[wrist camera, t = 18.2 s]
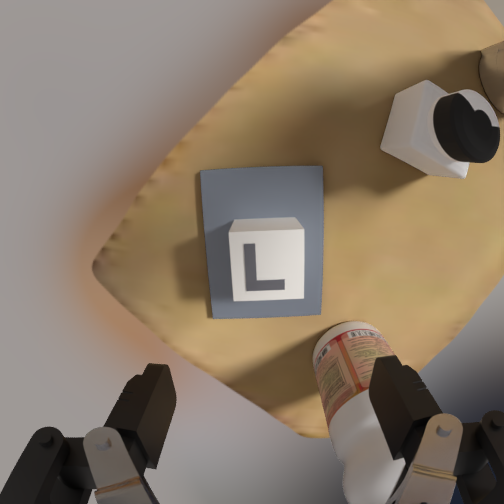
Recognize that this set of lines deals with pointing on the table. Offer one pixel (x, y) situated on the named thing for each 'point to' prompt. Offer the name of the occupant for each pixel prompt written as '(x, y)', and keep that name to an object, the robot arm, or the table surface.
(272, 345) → the table surface
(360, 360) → the white plastic bottle
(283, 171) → the slate mat
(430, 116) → the medicine bottle
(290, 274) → the letter cube
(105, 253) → the table surface
